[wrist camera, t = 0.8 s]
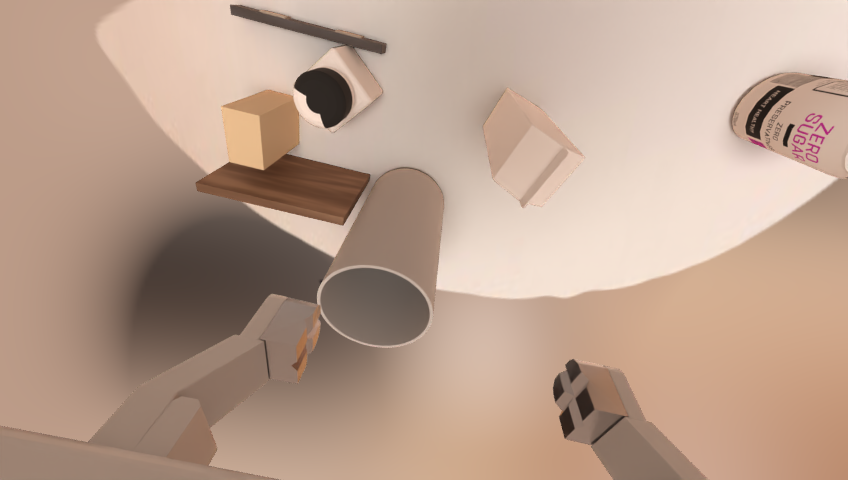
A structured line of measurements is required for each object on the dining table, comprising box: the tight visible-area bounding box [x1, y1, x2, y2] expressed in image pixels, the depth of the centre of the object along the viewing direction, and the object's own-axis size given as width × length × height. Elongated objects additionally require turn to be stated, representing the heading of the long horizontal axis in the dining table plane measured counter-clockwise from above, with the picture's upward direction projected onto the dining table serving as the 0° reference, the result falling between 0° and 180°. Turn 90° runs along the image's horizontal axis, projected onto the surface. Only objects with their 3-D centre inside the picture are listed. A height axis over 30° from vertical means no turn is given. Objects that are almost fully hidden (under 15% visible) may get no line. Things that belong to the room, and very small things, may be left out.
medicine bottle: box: [293, 45, 383, 133], centre depth 40 cm, size 7×7×12 cm
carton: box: [221, 90, 299, 170], centre depth 44 cm, size 5×7×11 cm
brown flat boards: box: [196, 5, 386, 225], centre depth 41 cm, size 20×19×14 cm
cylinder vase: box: [317, 168, 444, 348], centre depth 44 cm, size 12×12×25 cm
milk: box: [483, 88, 585, 208], centre depth 36 cm, size 6×6×22 cm
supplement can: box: [732, 73, 848, 179], centre depth 35 cm, size 8×8×15 cm
